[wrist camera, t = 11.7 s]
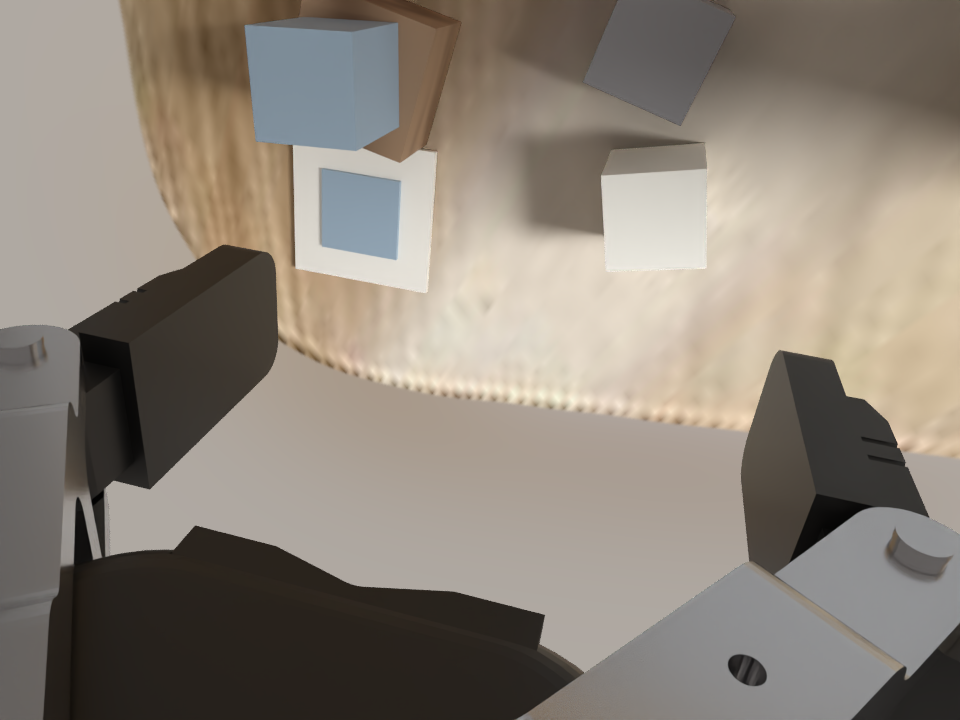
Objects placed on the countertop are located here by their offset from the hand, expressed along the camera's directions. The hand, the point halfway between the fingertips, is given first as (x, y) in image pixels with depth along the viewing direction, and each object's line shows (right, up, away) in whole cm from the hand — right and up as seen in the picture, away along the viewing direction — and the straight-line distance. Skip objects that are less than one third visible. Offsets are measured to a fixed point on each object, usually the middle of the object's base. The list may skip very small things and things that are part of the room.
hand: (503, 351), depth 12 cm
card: (-8, +9, +36) cm, 38 cm away
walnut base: (-6, +17, +31) cm, 36 cm away
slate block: (-7, +15, +27) cm, 32 cm away
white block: (+10, +9, +31) cm, 34 cm away
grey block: (+9, +16, +27) cm, 33 cm away
